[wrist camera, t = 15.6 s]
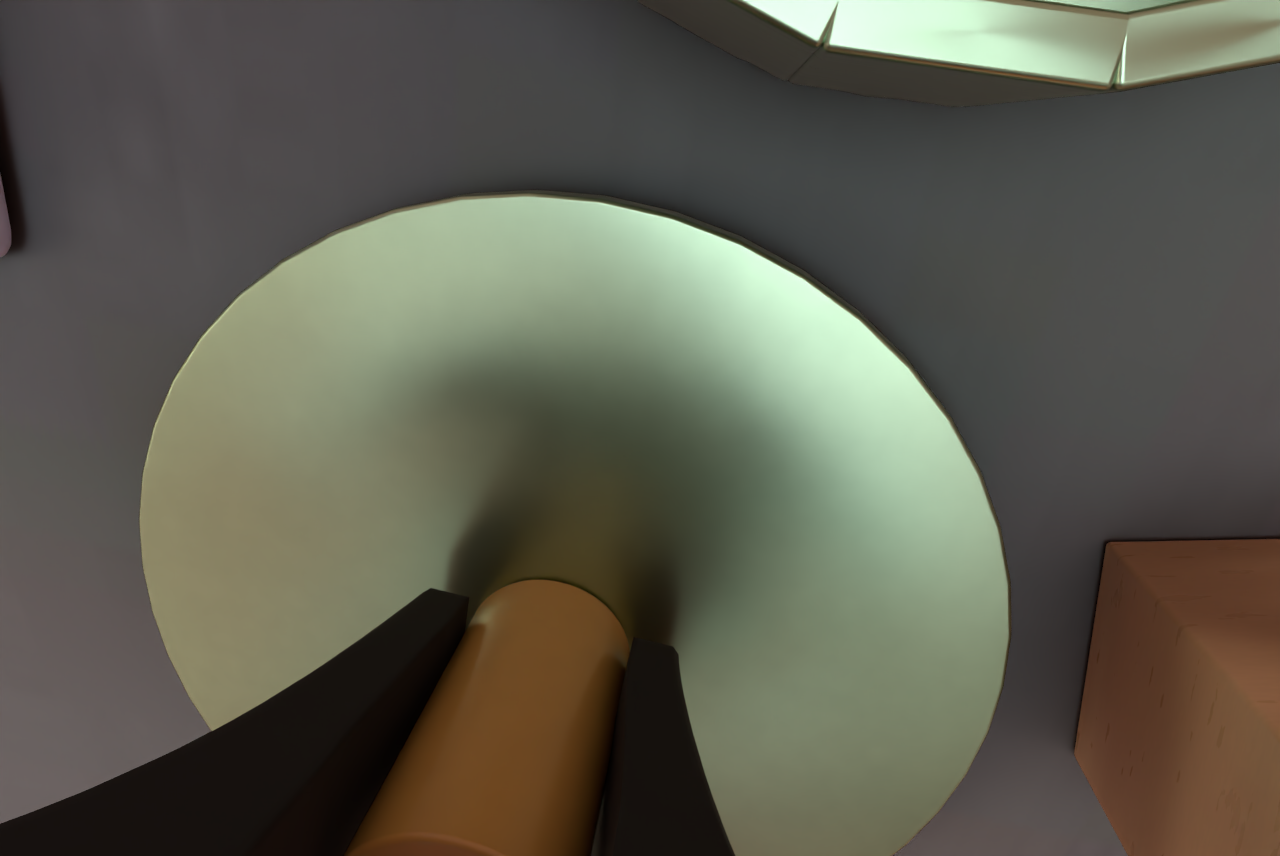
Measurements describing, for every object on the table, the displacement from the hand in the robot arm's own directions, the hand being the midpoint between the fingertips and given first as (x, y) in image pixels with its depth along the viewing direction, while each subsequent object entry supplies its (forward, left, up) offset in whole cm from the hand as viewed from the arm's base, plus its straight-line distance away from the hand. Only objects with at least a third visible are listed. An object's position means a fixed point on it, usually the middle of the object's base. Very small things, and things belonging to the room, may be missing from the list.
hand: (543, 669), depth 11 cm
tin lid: (0, 0, -1) cm, 1 cm away
